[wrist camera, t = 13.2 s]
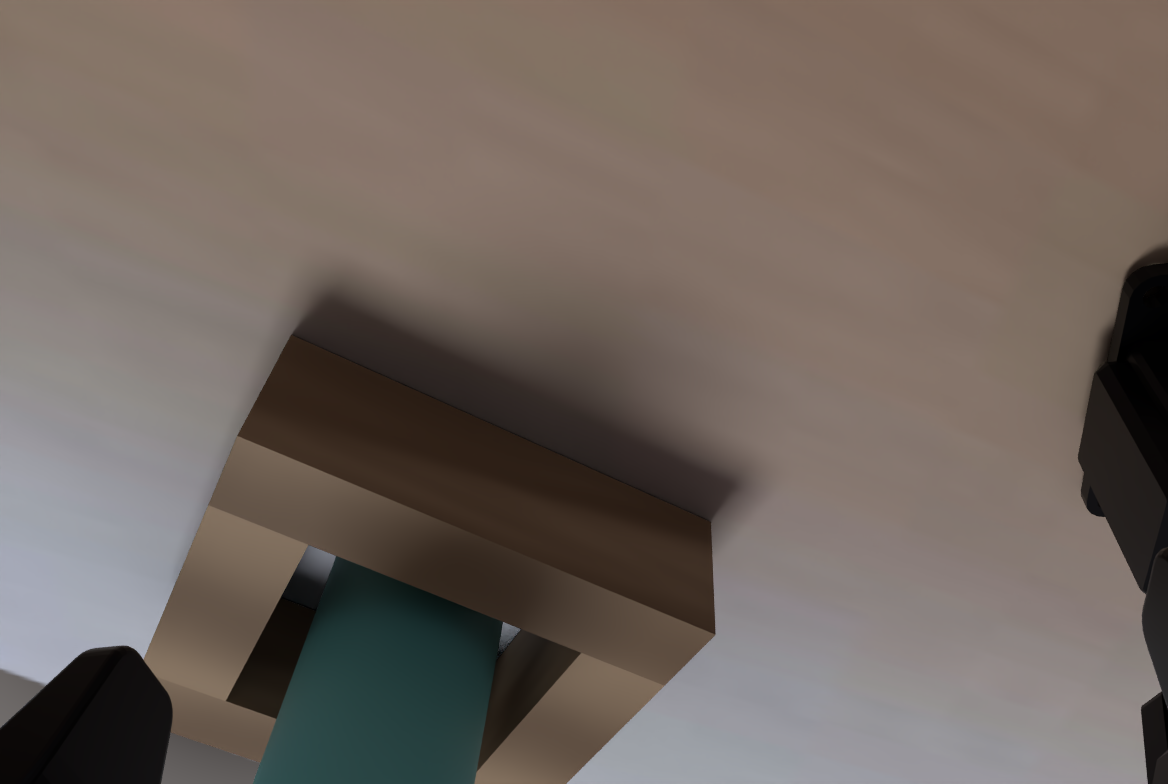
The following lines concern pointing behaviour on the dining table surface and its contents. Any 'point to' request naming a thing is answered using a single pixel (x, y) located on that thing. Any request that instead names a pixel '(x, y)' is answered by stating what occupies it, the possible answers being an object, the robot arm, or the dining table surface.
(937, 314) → the dining table surface
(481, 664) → the peg
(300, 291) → the dining table surface
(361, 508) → the block
